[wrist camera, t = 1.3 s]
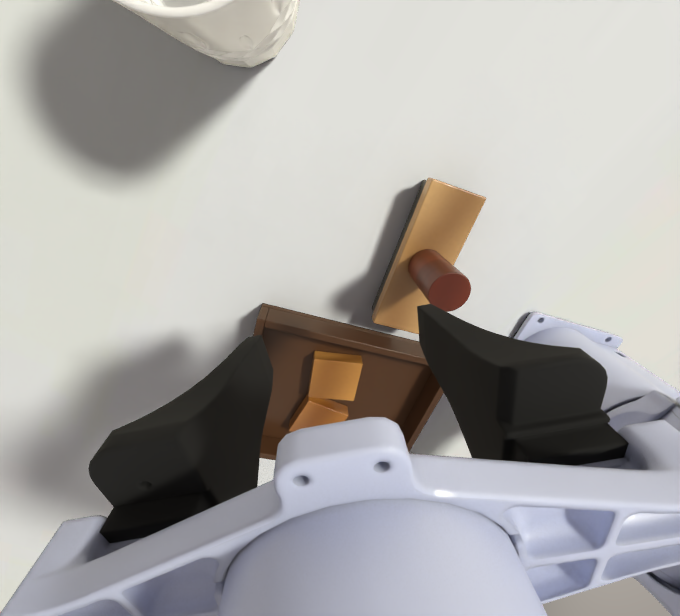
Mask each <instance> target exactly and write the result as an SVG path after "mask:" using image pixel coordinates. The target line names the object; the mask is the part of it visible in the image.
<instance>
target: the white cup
mask: <svg viewBox="0 0 680 616" xmlns="http://www.w3.org/2000/svg"><path fill="white" fill-rule="evenodd" d="M113 1H114V2H116V3H118V4H119V5H121V6H123V7H124V8H126V9H128V10H129V11H131V12H133V13H134V14H136V15H137V16H139V17H141V18H142V19H144V20H146V21H147V22H149V23H150V24H152V25H154V26H155V27H157V28H159V29H160V30H162V31H164V32H165V33H167V34H168V35H170V36H172V37H173V38H175V39H176V40H178V41H180V42H181V43H183V44H186V45H187V46H189V47H191V48H193V49H195V50H197V51H198V52H201V53H203V54H206V55H208V56H211V57H213V58H215V59H216V60H218V61H219V62H221V63H222V64H226V65H234V66H241V67H249V68H252V67H254V66H256V65H258V64H261V63H263V62H265V61H267V60H269V59H272V58H274V57H276V56H277V54H278V53H279V51H280V50H281V49H282V47H283V46H284V44H285V43H286V42H287V40H288V39H289V37H290V36H291V35H292V33H293V32H294V27H295V23H296V18H297V13H298V8H299V3H300V0H113Z"/></svg>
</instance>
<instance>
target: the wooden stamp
mask: <svg viewBox="0 0 680 616" xmlns="http://www.w3.org/2000/svg"><path fill="white" fill-rule="evenodd" d="M485 200H486V198H485V197H483V196H480V195H477V194H475V193H472V192H469V191H466V190H463V189H461V188H458V187H455V186H452V185H449V184H447V183H444V182H441V181H438V180H435V179H432V178H428V179H427V181H426V180H423V181H422V184H421V186H420V189H419V191H418V194H417V196H416V199H415V201H414V204H413V206H412V209H411V211H410V214H409V216H408V219H407V221H406V224H405V226H404V229H403V231H402V234H401V236H400V239H399V241H398V244H397V246H396V249H395V251H394V254H393V256H392V259H391V261H390V264H389V266H388V269H387V271H386V274H385V276H384V279H383V281H382V284H381V286H380V289H379V291H378V294H377V296H376V299H375V301H374V304H373V306H372V309H373V315H372V319H373V322H374V323H376V324H380V325H384V326H388V327H392V328H396V329H400V330H404V331H408V332H412V333H416V334H419V327H418V313H417V306H421V305H426V304H432V305H434V306H436V307H438V308H440V309H442V310H444V311H446V312H448V311H453V310H456V309H458V308H459V307H461V306H462V305H463V304H464V303H465V302H466V301H467V299H468V297H469V295H470V291H471V286H470V282H469V280H468V279H467V277H466V276H464V275H463V274H462V273H461V272H460V271H459V270H458V269H457V268H455V267H454V266H453V265H454V263H455V261H456V259H457V257H458V255H459V253H460V251H461V249H462V247H463V245H464V243H465V241H466V239H467V237H468V235H469V233H470V231H471V229H472V227H473V225H474V222H475V220H476V218H477V216H478V214H479V212H480V210H481V208H482V206H483V204H484V202H485Z"/></svg>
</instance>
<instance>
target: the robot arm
mask: <svg viewBox="0 0 680 616" xmlns="http://www.w3.org/2000/svg"><path fill="white" fill-rule="evenodd" d="M417 313H418V327H419V341H420V346H421V348H422V351H423V354H424V356H425V359H426V361H427V363H428V365H429V367H430V369H431V370H432V372H433V374H434V376H435V377H436V379H437V381H438V383H439V385H440V386H441V388H442V390H443V392H444V393H445V395H446V397H447V399H448V401H449V403H450V405H451V407H452V409H453V411H454V414H455V416H456V419H457V421H458V423H459V426H460V428H461V431H462V433H463V436H464V438H465V441H466V443H467V446H468V448H469V451H470V453H471V456H472V458H463V457H449V456H435V455H422V454H409V452H408V449H407V446H406V442H405V439H404V435H403V433H402V431H401V429H400V427H399V425H398V424H397V423H395V422H393V421H391V420H389V419H387V418H385V417H365V418H359V419H354V420H348V421H342V422H336V423H331V424H325V425H319V426H313V427H308V428H302V429H299V430H296V431H294V432H291V433H289V434H286V435H285V436H284V438H283V439H282V440H281V441H280V442H279V444H278V447H277V455H276V462H275V469H274V480H272V481H270V482H267V483H265V484H263V485H261V486H258V487H257V482H258V470H259V458H260V448H261V439H262V433H263V428H264V424H265V419H266V415H267V410H268V406H269V401H270V397H271V392H272V385H273V367H272V364H271V361H270V358H269V356H268V353H267V350H266V347H265V344H264V341H263V338H262V335H257V336H251V337H248V338H247V339H245V340H244V341H243V342H242V343H241V344H240V345H239V346H238V347H237V348H236V349H235V350H234V351H233V352H232V353H231V354H230V355H229V356H228V357H227V358H226V359H225V360H224V361H223V362H222V363H221V364H220V365H219V366H217V367H216V368H215V369H214V370H213V371H212V372H211V373H210V374H209V375H207V376H206V377H205V378H204V379H203V380H201V381H200V382H199V383H197V384H196V385H195V386H193V387H192V388H191V389H189V390H188V391H186V392H185V393H183V394H182V395H180V396H179V397H177V398H176V399H174V400H172V401H171V402H169V403H168V404H166V405H164V406H162V407H161V408H159V409H157V410H155V411H153V412H152V413H150V414H148V415H146V416H144V417H142V418H140V419H138V420H136V421H133V422H131V423H129V424H127V425H125V426H122V427H120V428H118V429H116V430H113V431H112V432H111V433H110V435H109V436H108V438H107V439H106V440H105V442H104V443H103V445H102V446H101V447H100V449H99V450H98V451H97V453H96V454H95V456H94V457H93V458H92V460H91V461H90V464H89V468H88V469H89V474H90V477H91V479H92V481H93V482H94V484H95V485H96V486H97V487H98V489H99V490H100V491H101V492H102V493H103V495H104V496H105V497H106V498H107V499H108V500H109V502H110V503H111V504H112V505H113V506H114V508H113V509H112V511H111V513H110V515H109V516H108V518H107V517H104V516H89V517H83V518H77V519H72V520H67V521H64V522H63V523H62V524H61V526H60V527H59V528H58V530H57V531H56V533H55V534H54V536H53V537H52V539H51V540H50V542H49V543H48V545H47V546H46V547H45V549H44V550H43V552H42V553H41V555H40V556H39V558H38V559H37V561H36V562H35V563H34V565H33V566H32V568H31V569H30V571H29V572H28V574H27V575H26V577H25V578H24V580H23V581H22V582H21V584H20V585H19V587H18V588H17V590H16V591H15V593H14V594H13V596H12V597H11V599H10V600H9V601H8V603H7V604H6V606H5V607H4V609H3V610H2V612H1V613H0V616H547V614H546V612H545V610H544V608H543V606H542V604H544V603H548V602H550V601H554V600H557V599H561V598H564V597H567V596H570V595H574V594H577V593H580V592H584V591H587V590H590V589H593V588H597V587H600V586H603V585H606V584H610V583H613V582H616V581H619V580H623V579H626V578H629V577H633V578H634V579H636V580H637V581H638V582H639V583H640V584H641V585H643V586H644V587H645V588H646V589H647V590H648V591H649V592H650V593H651V594H652V595H653V596H654V597H655V598H656V599H657V600H658V601H659V602H660V603H661V604H662V605H663V606H664V607H665V608H666V609H667V610H668V612H669V613H670V614H671V615H672V616H680V391H678V390H677V389H676V388H674V387H673V386H671V385H670V384H668V383H667V382H665V381H664V380H662V379H661V378H659V377H658V376H657V375H655V374H654V373H652V372H651V371H649V370H648V369H646V368H645V367H643V366H642V365H640V364H639V363H637V362H636V361H634V360H633V359H631V358H630V357H628V356H627V355H625V354H624V353H622V352H621V351H620V350H618V349H617V348H618V347H619V346H620V344H621V343H622V341H623V339H622V338H621V337H619V336H618V335H614V334H611V333H608V332H604V331H601V330H597V329H594V328H590V327H587V326H583V325H580V324H576V323H573V322H569V321H566V320H562V319H559V318H556V317H552V316H549V315H545V314H542V313H538V312H532V313H530V314H529V315H528V317H527V318H526V320H525V321H524V323H523V324H522V326H521V327H520V329H519V331H518V332H517V334H516V335H515V337H514V338H510V337H506V336H502V335H499V334H496V333H493V332H490V331H487V330H484V329H481V328H479V327H476V326H474V325H472V324H470V323H467V322H465V321H463V320H461V319H459V318H457V317H455V316H453V315H451V314H449V313H447V312H446V311H444V310H442V309H440V308H438V307H436V306H434V305H432V304H426V305H421V306H417ZM539 318H541V319H540V320H539V321H538V319H539Z"/></svg>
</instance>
